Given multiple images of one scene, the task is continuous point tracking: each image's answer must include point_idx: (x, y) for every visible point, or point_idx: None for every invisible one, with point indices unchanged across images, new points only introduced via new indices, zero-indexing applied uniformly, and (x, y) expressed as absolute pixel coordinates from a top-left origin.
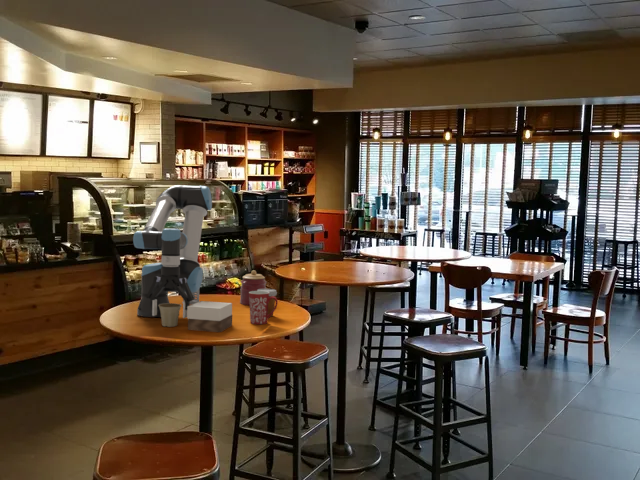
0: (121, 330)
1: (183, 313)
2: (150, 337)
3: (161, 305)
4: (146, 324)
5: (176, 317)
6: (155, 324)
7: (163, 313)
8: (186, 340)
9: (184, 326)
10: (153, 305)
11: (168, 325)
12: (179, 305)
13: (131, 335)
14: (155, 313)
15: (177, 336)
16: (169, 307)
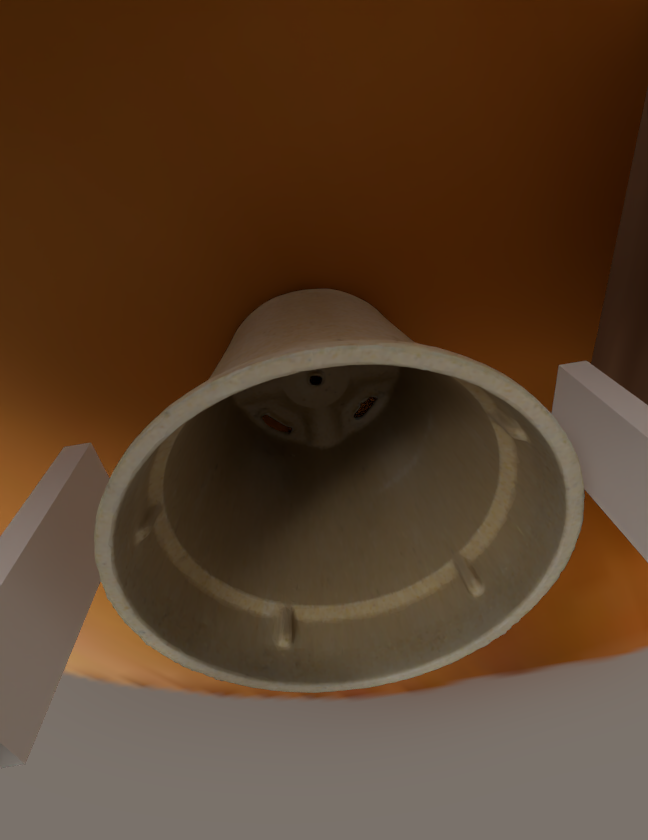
0: (103, 659)
1: (589, 483)
2: (405, 682)
3: (129, 555)
4: (58, 443)
5: (442, 441)
6: (137, 399)
7: (307, 573)
8: (639, 646)
9: (493, 331)
10: (58, 653)
11: (351, 448)
12: (484, 389)
13: (272, 697)
14: (101, 497)
15: (557, 613)
16: (435, 669)
